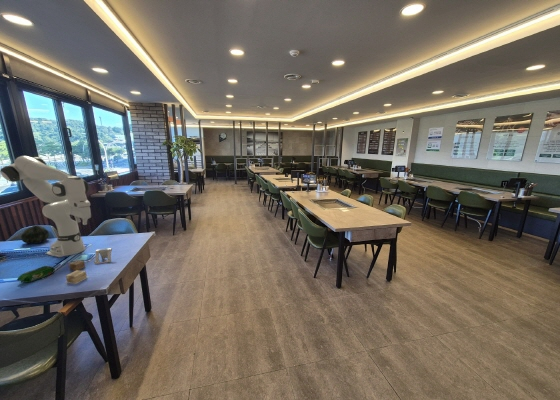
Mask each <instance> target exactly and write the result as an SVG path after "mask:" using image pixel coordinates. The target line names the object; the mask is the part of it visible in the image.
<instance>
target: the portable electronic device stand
mask: <svg viewBox="0 0 560 400" xmlns="http://www.w3.org/2000/svg"><path fill="white" fill-rule="evenodd" d="M112 251H113V248H109V247H108V248H104V249H103V248H102V249H101V248H100V249H96V250H95V254H94V255H95V259H94V260H95V261H94V263H93V264H94V265H99V264H110V263H112ZM100 258H101V260H102V261H100ZM105 259H107V260H105ZM103 260H104V261H103Z"/></svg>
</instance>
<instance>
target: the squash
mask: <svg viewBox="0 0 560 400" xmlns="http://www.w3.org/2000/svg"><path fill="white" fill-rule="evenodd" d="M49 236H50V233H49V231H48V230H47V229H46V228H45V227H43V226H40V225H33V226H30V227H28V228H26V229H25V230H24V231H23V232H22V233H21V236H20V239H21V241H22V242H23V243H25V244H34V243H36V244H40V243H43V242H45V241H46V240H47V239H48V238H49Z"/></svg>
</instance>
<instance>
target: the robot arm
mask: <svg viewBox="0 0 560 400" xmlns="http://www.w3.org/2000/svg"><path fill="white" fill-rule="evenodd" d="M0 174H1V177H2V178H4V179H6V180H7V181H9V182H11V183H15V182H20V181H21V180H22V183H23V184H24V186H25V188H27V189H28V190H29V191H30V192H31V193H32V194H33V195H34V196H36V197H37V198H38V199H39V200H40V201H41V202H43V203H47V204H45V205H44V206H43V207H42V209H41V210H42V215H43V216H44V217H45V218H47V219H50V220H52V221H53V223H54V224H55V226H56V229H57V233H58V235H56V238H57V239H56V240H55V241H54V242H53V243H52V244H50V247H49V249H50V250H49V251H47V252H45V253H46V255H49V256H53V257H57V258H62V257H65V256H72V255H76V254H79V253H82V252H83V251H85V250H86V245H85V244H84V241H83V238H82V235H81V232H80V228H79V223H81V222H82V225H84V226H86V225H88V219H91V218H92V212H91V207H90V206H91V202H90V201H89V200H88V198H87V194H88V192H89V191H90V188H91V186H90V184H89V183H88V181H87V180H85V179H84V178H82V177H80V176H78V175H77V176H76V175H72V174H70V173H67V172H65V171H63V170H60V169H57V168H55V167H52V166H49V165H48V164H47V163H46V161H45V160H44V159H42V158H41V157H38V156H34V157H32V156H28V155H20V156H18V157H16V158H15V159H14V163H11V164H8V165H6V166H5V165H4V166H3V167H2V168H1V169H0ZM49 181H57V182H54V183H53V184H52V183H50V182H49ZM70 215H71V216H72V217H73V216H74V218H75V220H74V219H72V218H71V216H70ZM81 220H82V221H81Z"/></svg>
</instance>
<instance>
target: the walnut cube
mask: <svg viewBox="0 0 560 400" xmlns="http://www.w3.org/2000/svg"><path fill="white" fill-rule="evenodd" d="M68 266H69V271H73V272H74V271H76V270H79V271H81V270H83V269H84V268H86V265H85V261H84V260H74V261H73V262H70V263H69V264H68Z"/></svg>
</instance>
